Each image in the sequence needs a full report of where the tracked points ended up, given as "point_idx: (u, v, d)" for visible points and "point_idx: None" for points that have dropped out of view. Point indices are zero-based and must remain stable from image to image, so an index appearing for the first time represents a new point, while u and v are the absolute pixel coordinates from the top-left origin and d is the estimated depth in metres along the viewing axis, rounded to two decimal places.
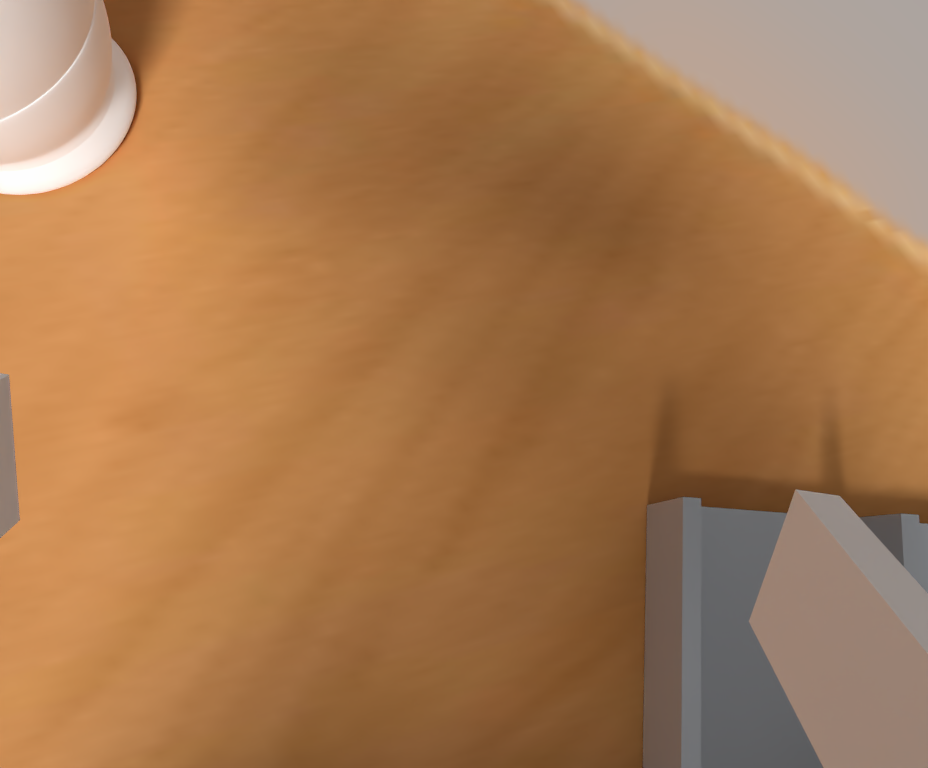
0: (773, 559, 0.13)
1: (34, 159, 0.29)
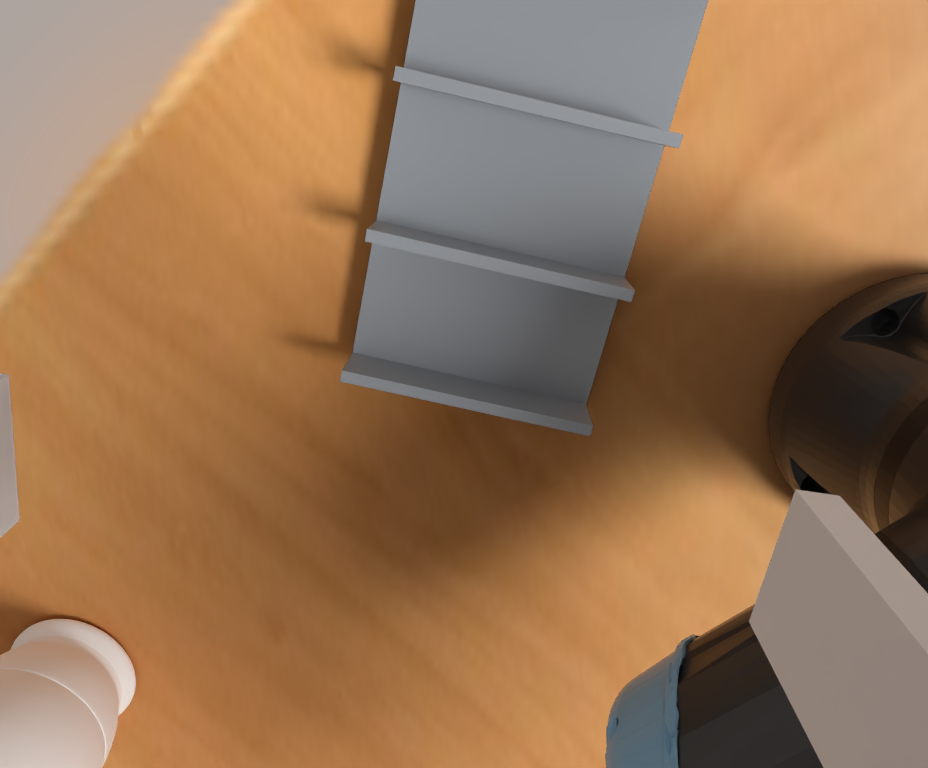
0: (774, 559, 0.13)
1: (113, 679, 0.48)
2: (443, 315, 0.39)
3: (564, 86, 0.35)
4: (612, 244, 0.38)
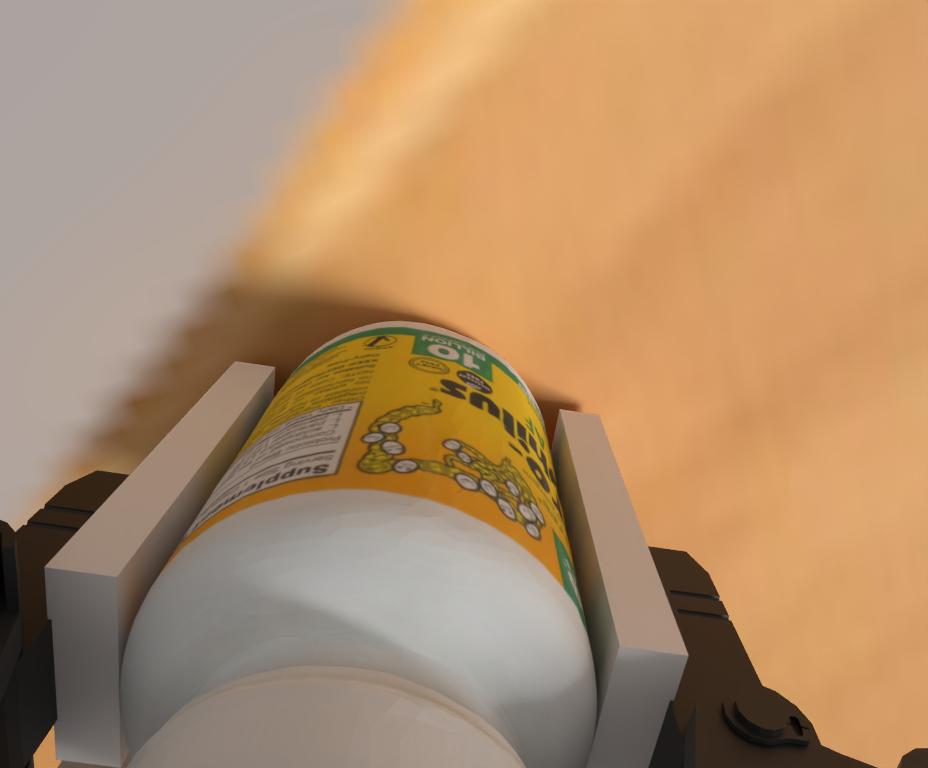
0: None
1: None
2: None
3: None
4: None
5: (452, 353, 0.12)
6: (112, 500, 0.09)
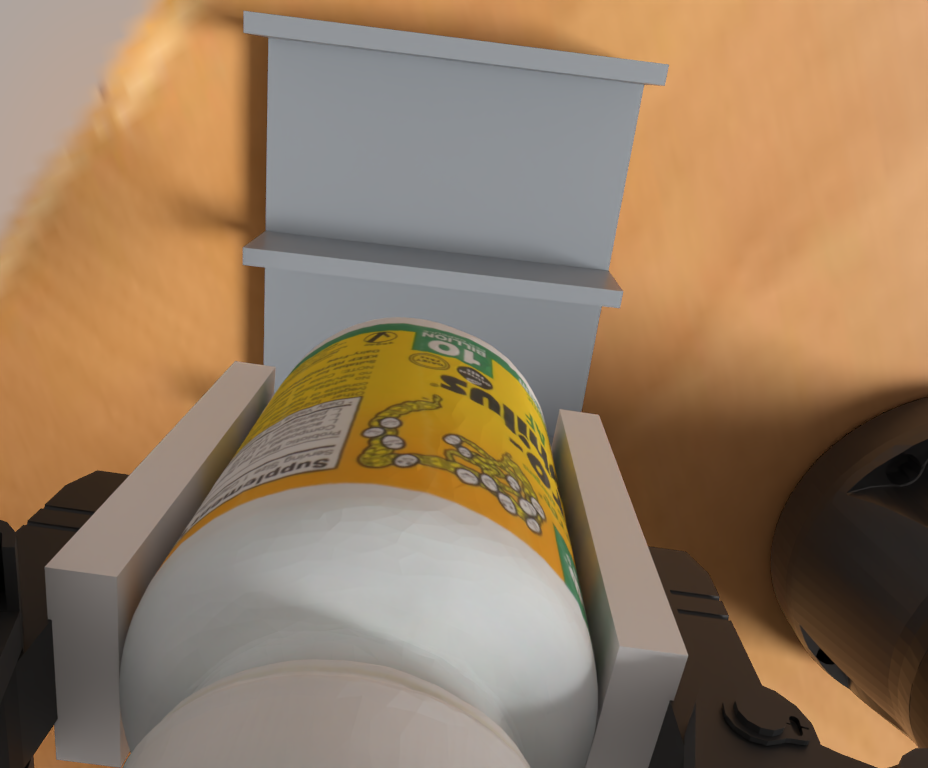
0: None
1: None
2: None
3: (470, 229, 0.28)
4: (556, 404, 0.31)
5: (452, 349, 0.12)
6: (112, 500, 0.09)
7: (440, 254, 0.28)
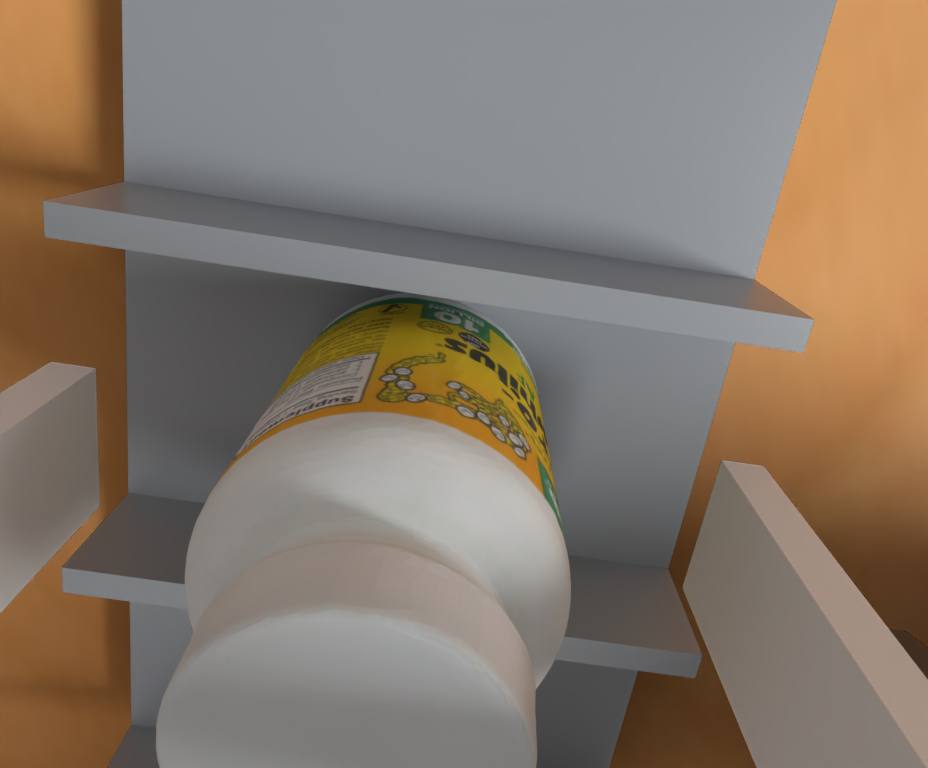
0: (703, 528, 0.13)
1: None
2: None
3: (504, 193, 0.15)
4: (639, 510, 0.17)
5: (455, 319, 0.14)
6: None
7: (447, 236, 0.15)
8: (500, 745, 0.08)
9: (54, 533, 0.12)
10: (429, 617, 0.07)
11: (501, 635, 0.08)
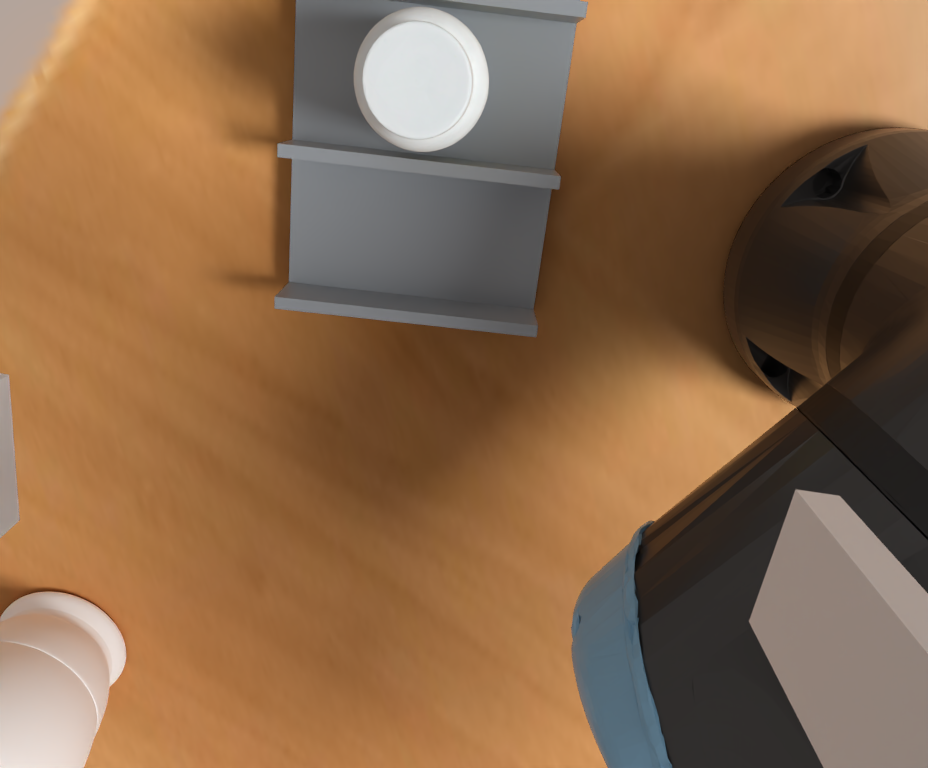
0: (773, 560, 0.13)
1: (101, 646, 0.48)
2: (375, 232, 0.38)
3: None
4: (537, 136, 0.36)
5: None
6: None
7: None
8: (460, 68, 0.27)
9: None
10: (439, 26, 0.26)
11: (460, 44, 0.27)
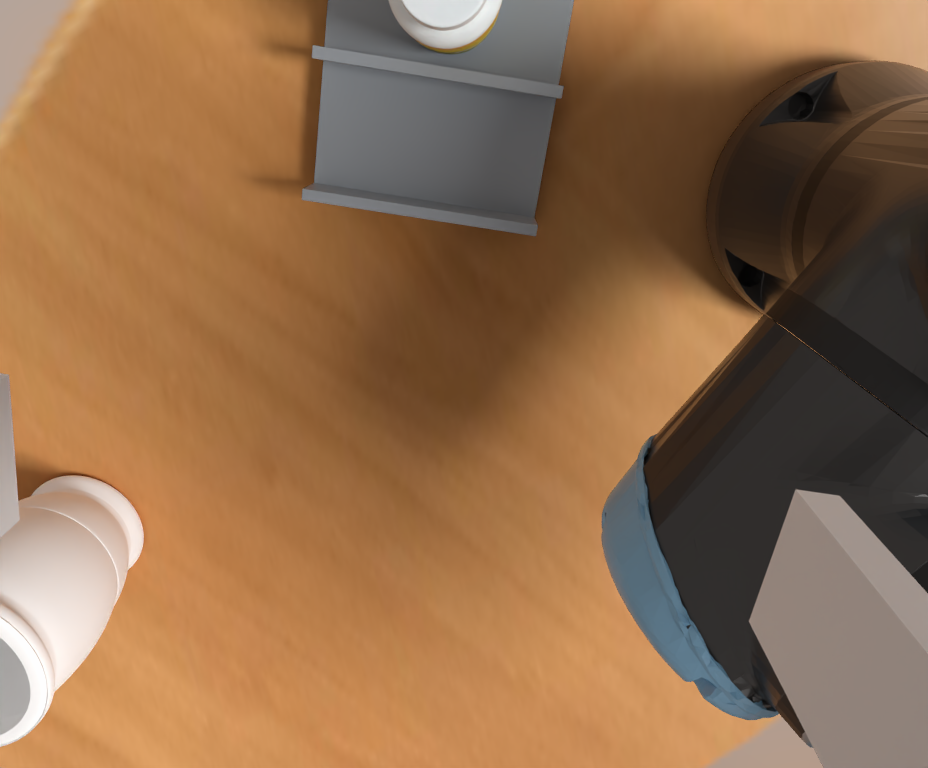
0: (774, 559, 0.13)
1: (122, 527, 0.51)
2: (394, 139, 0.42)
3: None
4: (544, 55, 0.41)
5: None
6: None
7: None
8: None
9: None
10: None
11: None
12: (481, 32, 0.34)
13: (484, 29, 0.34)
